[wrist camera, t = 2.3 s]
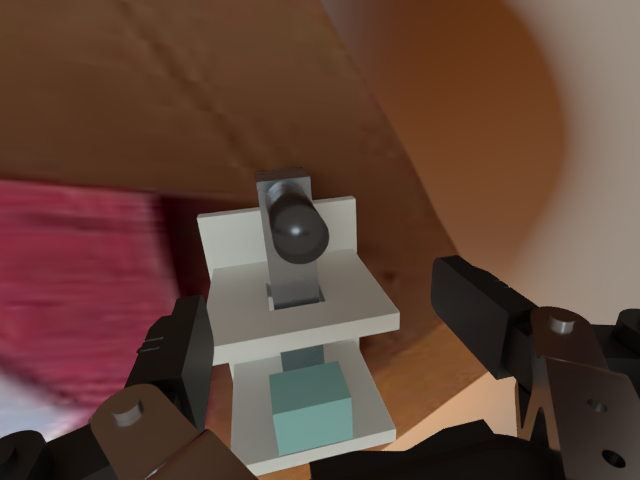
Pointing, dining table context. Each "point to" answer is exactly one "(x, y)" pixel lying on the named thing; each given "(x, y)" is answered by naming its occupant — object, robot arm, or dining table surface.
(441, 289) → the robot arm
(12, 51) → the dining table surface
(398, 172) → the dining table surface
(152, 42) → the dining table surface
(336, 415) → the spacer
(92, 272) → the dining table surface
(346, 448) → the bracket
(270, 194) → the shaft
